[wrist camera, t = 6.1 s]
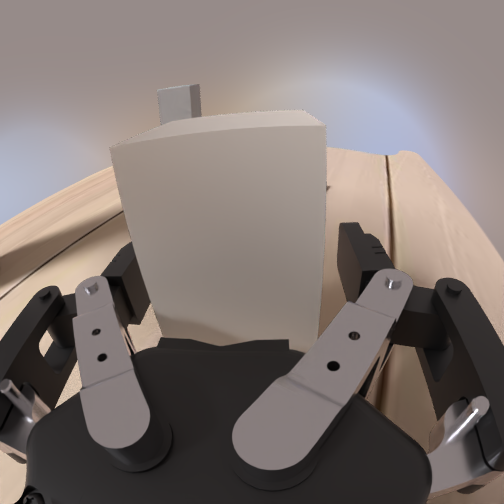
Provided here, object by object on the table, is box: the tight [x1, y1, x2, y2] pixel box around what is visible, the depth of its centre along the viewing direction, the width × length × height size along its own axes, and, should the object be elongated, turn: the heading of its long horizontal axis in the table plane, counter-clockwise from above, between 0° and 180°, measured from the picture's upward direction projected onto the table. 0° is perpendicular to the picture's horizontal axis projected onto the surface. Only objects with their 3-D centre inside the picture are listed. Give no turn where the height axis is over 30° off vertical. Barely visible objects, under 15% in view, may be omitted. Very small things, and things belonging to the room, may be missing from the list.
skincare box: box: [157, 84, 201, 125], centre depth 53 cm, size 8×7×16 cm
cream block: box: [110, 110, 326, 353], centre depth 11 cm, size 5×5×12 cm
